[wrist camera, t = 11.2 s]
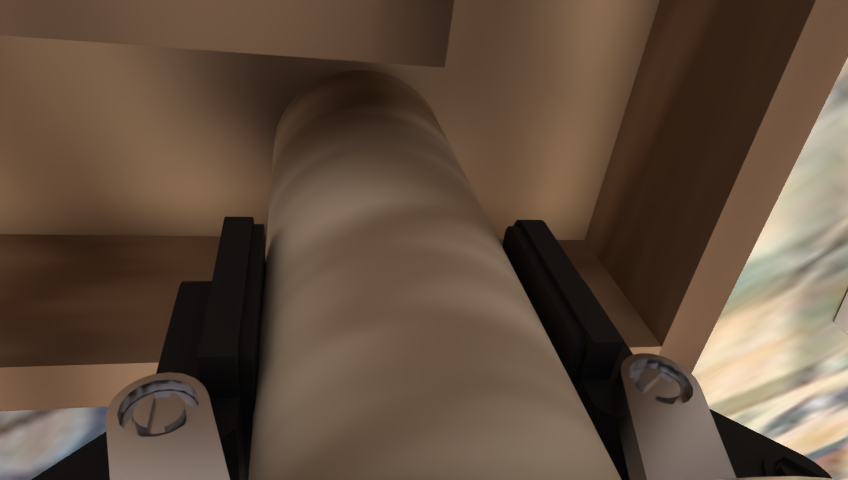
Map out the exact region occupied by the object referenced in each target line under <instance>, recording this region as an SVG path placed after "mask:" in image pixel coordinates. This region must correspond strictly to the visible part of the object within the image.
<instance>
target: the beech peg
mask: <svg viewBox="0 0 848 480" xmlns="http://www.w3.org/2000/svg"><path fill="white" fill-rule="evenodd" d="M265 260H266V264H265V277H264V291H263V304H262V318H261V331H260V345H259V358H258V372H257V385H256V399H255V409H254V413H253V426H252V439H251V452H250V465H249V478H248V480H622V479H621V477H620V476H619V474H618V472H617V470H616V468H615V466H614V464H613V462H612V460H611V458H610V456H609V454H608V452H607V450H606V448H605V446H604V444H603V442H602V440H601V438H600V437H599V435H598V433H597V431H596V429H595V427H594V425H593V423H592V421H591V419H590V417H589V415H588V413H587V411H586V409H585V407H584V405H583V403H582V401H581V399H580V398H579V396H578V394H577V392H576V390H575V388H574V386H573V384H572V382H571V380H570V378H569V376H568V374H567V372H566V370H565V368H564V366H563V364H562V362H561V361H560V359H559V357H558V355H557V353H556V351H555V349H554V347H553V345H552V343H551V341H550V339H549V337H548V335H547V333H546V331H545V329H544V327H543V325H542V323H541V322H540V320H539V318H538V316H537V314H536V312H535V310H534V308H533V306H532V304H531V302H530V300H529V298H528V296H527V294H526V292H525V290H524V288H523V286H522V284H521V283H520V281H519V279H518V277H517V275H516V273H515V271H514V269H513V267H512V265H511V263H510V261H509V259H508V257H507V255H506V253H505V251H504V249H503V247H502V245H501V244H500V242H499V240H498V238H497V236H496V234H495V232H494V230H493V228H492V226H491V224H490V222H489V220H488V218H487V216H486V214H485V212H484V210H483V208H482V206H481V205H480V203H479V201H478V199H477V197H476V195H475V193H474V191H473V189H472V187H471V185H470V183H469V181H468V179H467V177H466V175H465V173H464V171H463V169H462V168H461V166H460V164H459V162H458V160H457V158H456V156H455V154H454V152H453V150H452V148H451V146H450V144H449V142H448V140H447V138H446V136H445V134H444V132H443V130H442V129H441V127H440V125H439V123H438V121H437V119H436V117H435V115H434V113H433V111H432V109H431V107H430V106H429V105H428V103H427V102H426V101H425V99H424V98H423V97H422V96H421V95H420V94H419V93H418V92H417V91H416V90H414V89H413V88H412V87H411V86H409V85H408V84H406V83H404V82H403V81H401V80H399V79H397V78H395V77H392V76H390V75H387V74H383V73H380V72H375V71H367V70H351V71H344V72H339V73H335V74H331V75H329V76H326V77H324V78H321V79H319V80H317V81H315V82H314V83H312V84H310V85H309V86H307V87H306V88H305V89H303V90H302V91H301V92H300V93H299V94H298V95H297V96H296V97H295V98H294V99H293V100H292V101H291V102H290V104H289V105H288V106H287V108H286V109H285V111H284V113H283V115H282V116H281V118H280V121H279V123H278V126H277V129H276V133H275V138H274V149H273V162H272V175H271V188H270V201H269V215H268V228H267V241H266V254H265Z"/></svg>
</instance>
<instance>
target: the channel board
mask: <svg viewBox="0 0 848 480" xmlns="http://www.w3.org/2000/svg"><path fill="white" fill-rule="evenodd" d="M847 57H848V0H0V411H16V410H38V409H60V408H82V407H104V406H109V405H110V403H111V401H112V400H113V398H114V397H115V396H116V395H117V394H118V393H119V392H120V391H121V390H122V389H123V388H124V387H126V386H127V385H129V384H131V383H133V382H134V381H136V380H138V379H140V378H143V377H146V376H149V375H152V374H156V372H157V368H158V364H159V361H160V357H161V353H162V349H163V346H164V342H165V338H166V334H167V331H168V327H169V323H170V319H171V316H172V312H173V308H174V304H175V300H176V297H177V293H178V289H179V286H180V283H181V282H182V281H212V278H213V273H214V268H215V263H216V258H217V253H218V247H219V242H220V237H221V232H222V227H223V222H224V217H253V218H254V224H264V228H265V254H266V241H267V228H268V215H269V201H270V188H271V175H272V162H273V149H274V138H275V133H276V129H277V126H278V123H279V121H280V118H281V116H282V115H283V113H284V111H285V109H286V108H287V106H288V105H289V104H290V102H291V101H292V100H293V99H294V98H295V97H296V96H297V95H298V94H299V93H300V92H301V91H302V90H303V89H305V88H306V87H307V86H309V85H310V84H312V83H314V82H315V81H317V80H319V79H321V78H324V77H326V76H329V75H331V74H335V73H339V72H344V71H351V70H367V71H375V72H380V73H383V74H387V75H390V76H392V77H395V78H397V79H399V80H401V81H403V82H404V83H406V84H408V85H409V86H411V87H412V88H413V89H414V90H416V91H417V92H418V93H419V94H420V95H421V96H422V97H423V98H424V99H425V101H426V102H427V103H428V105H429V106H430V107H431V109H432V111H433V113H434V115H435V117H436V119H437V121H438V123H439V125H440V127H441V129H442V130H443V132H444V134H445V136H446V138H447V140H448V142H449V144H450V146H451V148H452V150H453V152H454V154H455V156H456V158H457V160H458V162H459V164H460V166H461V168H462V169H463V171H464V173H465V175H466V177H467V179H468V181H469V183H470V185H471V187H472V189H473V191H474V193H475V195H476V197H477V199H478V201H479V203H480V205H481V206H482V208H483V210H484V212H485V214H486V216H487V218H488V220H489V222H490V224H491V226H492V228H493V230H494V232H495V234H496V236H497V238H498V240H499V242H500V244H501V245H502V244H503V240H504V235H505V231H506V229H507V227H508V226H514V223H515V222H516V221H517V220H543V221H544V222H545V223H546V225H547V226H548V228H549V229H550V231H551V232H552V234H553V235H554V237H555V238H556V240H557V241H558V243H559V244H560V246H561V247H562V249H563V250H564V252H565V253H566V255H567V256H568V258H569V259H570V261H571V262H572V264H573V265H574V267H575V269H576V270H577V272H578V273H579V275H580V276H581V278H582V279H583V280H584V281H585V282H586V284H587V285H588V287H589V288H590V290H591V291H592V293H593V294H594V296H595V297H596V299H597V300H598V302H599V303H600V305H601V306H602V308H603V309H604V311H605V312H606V314H607V315H608V317H609V318H610V320H611V321H612V323H613V324H614V326H615V327H616V329H617V330H618V332H619V333H620V335H621V336H622V338H623V340H624V341H625V343H626V344H627V346H628V347H629V349H630V350H631V352H632V353H633V355H634V354H639V353H649V354H655V355H659V356H663V357H666V358H668V359H670V360H672V361H675V362H677V363H678V364H680V365H681V366H683V367H684V368H685V369H687V370H688V371H689V372H690V373H692V371H693V369H694V367H695V365H696V363H697V361H698V359H699V357H700V355H701V353H702V351H703V349H704V347H705V345H706V343H707V341H708V339H709V336H710V334H711V332H712V330H713V328H714V326H715V324H716V322H717V320H718V318H719V316H720V314H721V312H722V310H723V308H724V306H725V304H726V302H727V300H728V298H729V296H730V294H731V292H732V290H733V288H734V286H735V284H736V282H737V280H738V278H739V276H740V274H741V272H742V270H743V268H744V266H745V264H746V262H747V260H748V258H749V256H750V254H751V251H752V249H753V247H754V245H755V243H756V241H757V239H758V237H759V235H760V233H761V231H762V229H763V227H764V225H765V223H766V221H767V219H768V217H769V215H770V213H771V211H772V209H773V207H774V205H775V203H776V201H777V199H778V197H779V195H780V193H781V191H782V189H783V187H784V185H785V183H786V181H787V179H788V177H789V175H790V173H791V171H792V168H793V166H794V164H795V162H796V160H797V158H798V156H799V154H800V152H801V150H802V148H803V146H804V144H805V142H806V140H807V138H808V136H809V134H810V132H811V130H812V128H813V126H814V124H815V122H816V120H817V118H818V116H819V114H820V112H821V110H822V108H823V106H824V104H825V102H826V100H827V98H828V96H829V94H830V92H831V90H832V88H833V86H834V83H835V81H836V79H837V77H838V75H839V73H840V71H841V69H842V67H843V65H844V63H845V61H846V59H847Z"/></svg>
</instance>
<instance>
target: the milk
mask: <svg viewBox="0 0 848 480" xmlns="http://www.w3.org/2000/svg"><path fill="white" fill-rule="evenodd" d="M834 323H835V324H836V325H837V326H838V327H839V328H840V329H841V330H843V331H844V332H845V333H846V334H847V335H848V292H847V294H846V296H845V298H844V300H843V303H842V305H841V307H840V309H839V311H838V314H837V316H836V318H835V320H834Z"/></svg>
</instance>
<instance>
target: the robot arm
mask: <svg viewBox="0 0 848 480" xmlns="http://www.w3.org/2000/svg"><path fill="white" fill-rule="evenodd" d="M502 247H503V249H504V251H505V253H506V255H507V257H508V259H509V261H510V263H511V265H512V267H513V269H514V271H515V273H516V275H517V277H518V279H519V281H520V283H521V284H522V286H523V288H524V290H525V292H526V294H527V296H528V298H529V300H530V302H531V304H532V306H533V308H534V310H535V312H536V314H537V316H538V318H539V320H540V322H541V323H542V325H543V327H544V329H545V331H546V333H547V335H548V337H549V339H550V341H551V343H552V345H553V347H554V349H555V351H556V353H557V355H558V357H559V359H560V361H561V362H562V364H563V366H564V368H565V370H566V372H567V374H568V376H569V378H570V380H571V382H572V384H573V386H574V388H575V390H576V392H577V394H578V396H579V398H580V399H581V401H582V403H583V405H584V407H585V409H586V411H587V413H588V415H589V417H590V419H591V421H592V423H593V425H594V427H595V429H596V431H597V433H598V435H599V437H600V438H601V440H602V442H603V444H604V446H605V448H606V450H607V452H608V454H609V456H610V458H611V460H612V462H613V464H614V466H615V468H616V470H617V472H618V474H619V476H620V477H621V479H622V480H837V479H832V477H831V476H830V475H829V474H828V473H827V472H826V471H825V470H823V469H822V468H821V467H820V466H819V465H818V464H816V463H815V462H813V461H812V460H810V459H808V458H807V457H805V456H803V455H801V454H799V453H797V452H795V451H793V450H791V449H789V448H787V447H785V446H783V445H781V444H779V443H777V442H775V441H773V440H771V439H769V438H767V437H765V436H763V435H761V434H759V433H757V432H755V431H753V430H751V429H749V428H747V427H745V426H743V425H741V424H739V423H737V422H735V421H733V420H731V419H729V418H727V417H725V416H723V415H721V414H719V413H717V412H715V411H713V410H711V409H709V407H708V404H707V402H706V399H705V397H704V394H703V392H702V389H701V387H700V385H699V383H698V382H697V380H696V378H695V377H694V376H693V375H692V374H691V373H690V372H689V371H688V370H687V369H685V368H684V367H683V366H681V365H680V364H678V363H677V362H675V361H672V360H670V359H668V358H666V357H663V356H659V355H655V354H649V353H639V354H634V355H633V353H632V352H631V350H630V349H629V347H628V346H627V344H626V343H625V341H624V340H623V338H622V336H621V335H620V333H619V332H618V330H617V329H616V327H615V326H614V324H613V323H612V321H611V320H610V318H609V317H608V315H607V314H606V312H605V311H604V309H603V308H602V306H601V305H600V303H599V302H598V300H597V299H596V297H595V296H594V294H593V293H592V291H591V290H590V288H589V287H588V285H587V284H586V282H585V281H584V280H583V279H582V278H581V276H580V275H579V273H578V272H577V270H576V269H575V267H574V265H573V264H572V262H571V261H570V259H569V258H568V256H567V255H566V253H565V252H564V250H563V249H562V247H561V246H560V244H559V243H558V241H557V240H556V238H555V237H554V235H553V234H552V232H551V231H550V229H549V228H548V226H547V225H546V223H545V222H544V221H543V220H517V221H516V222H515V223H514V226H508V227H507V229H506V231H505V235H504V240H503V244H502ZM265 264H266V260H265V228H264V224H254V218H253V217H224V222H223V227H222V232H221V237H220V242H219V247H218V253H217V258H216V263H215V268H214V273H213V278H212V281H182V282H181V283H180V286H179V289H178V293H177V297H176V300H175V304H174V308H173V312H172V316H171V319H170V323H169V327H168V331H167V334H166V338H165V342H164V346H163V349H162V353H161V357H160V361H159V364H158V368H157V372H156V374H152V375H149V376H146V377H143V378H140V379H138V380H136V381H134V382H133V383H131V384H129V385H127V386H126V387H124V388H123V389H122V390H121V391H120V392H119V393H118V394H117V395H116V396H115V397H114V398H113V400H112V401H111V403H110V405H109V406H108V408H107V414H106V432H105V433H103V434H102V435H100V436H99V437H97V438H95V439H94V440H92V441H91V442H89V443H88V444H86V445H85V446H83V447H81V448H80V449H78V450H77V451H75V452H74V453H72V454H71V455H69V456H67V457H66V458H64V459H63V460H61V461H60V462H58V463H57V464H55V465H53V466H52V467H50V468H49V469H47V470H46V471H44V472H43V473H41V474H39V475H38V476H36V477H35V478H33V479H32V480H248V478H249V465H250V452H251V439H252V426H253V413H254V409H255V399H256V385H257V372H258V358H259V345H260V331H261V318H262V304H263V291H264V277H265Z"/></svg>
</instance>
